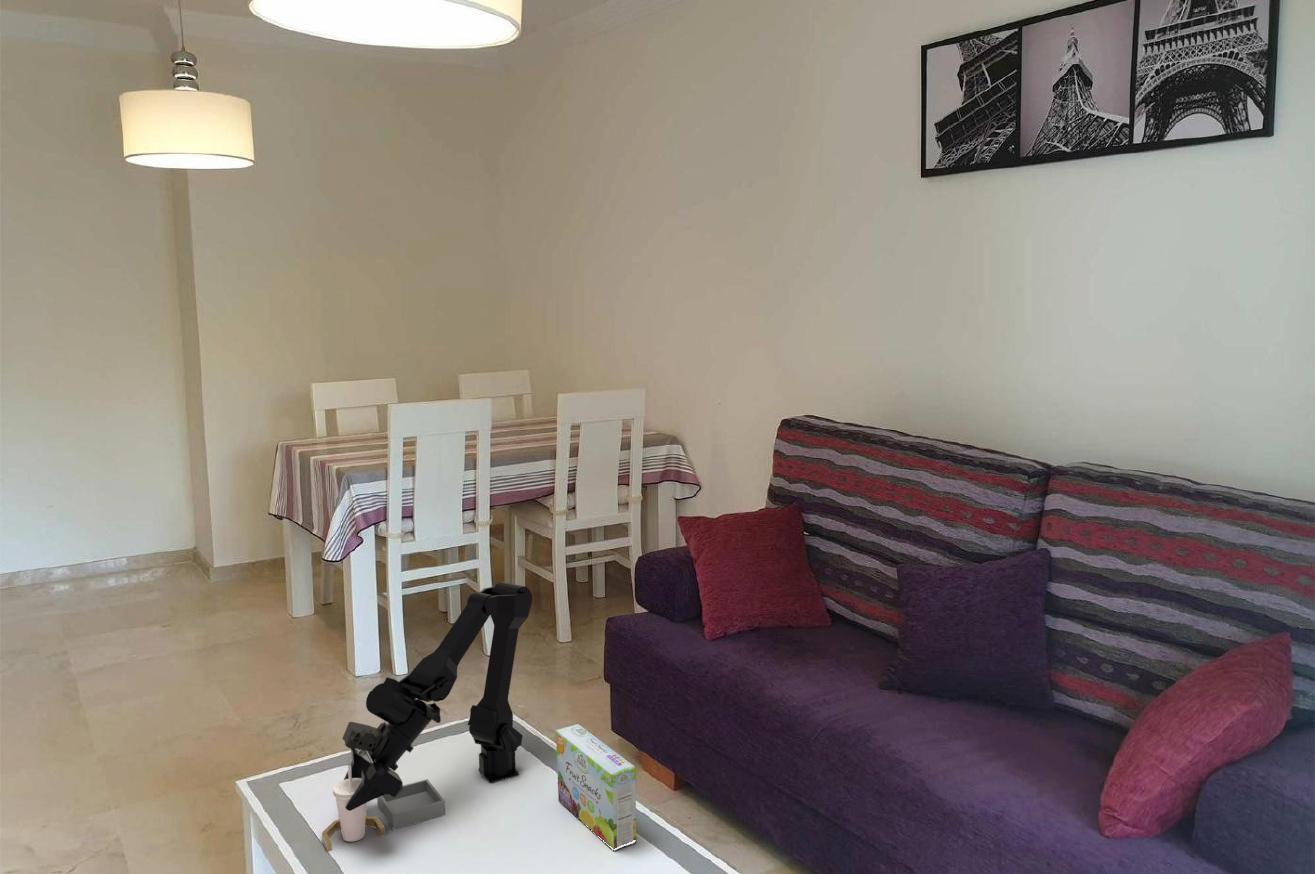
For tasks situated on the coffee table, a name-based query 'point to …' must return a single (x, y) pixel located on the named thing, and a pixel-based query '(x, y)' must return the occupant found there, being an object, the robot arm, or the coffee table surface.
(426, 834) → the coffee table surface
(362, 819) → the smoothie
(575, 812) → the snack box
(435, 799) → the tray
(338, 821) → the collar
